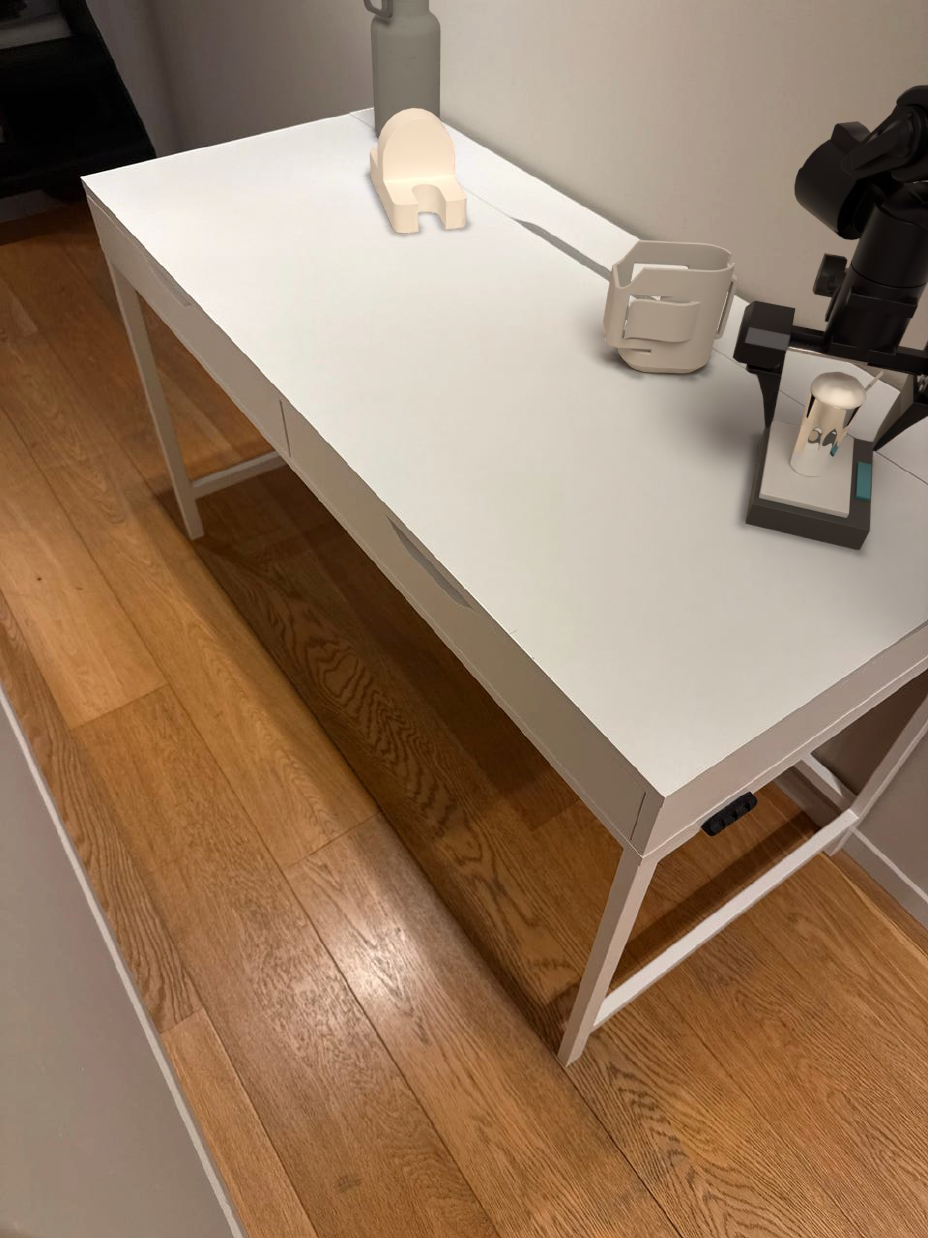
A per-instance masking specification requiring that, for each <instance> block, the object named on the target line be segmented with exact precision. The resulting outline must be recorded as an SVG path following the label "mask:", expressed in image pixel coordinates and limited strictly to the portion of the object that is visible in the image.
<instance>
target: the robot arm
mask: <svg viewBox="0 0 928 1238" xmlns="http://www.w3.org/2000/svg"><path fill="white" fill-rule="evenodd" d="M895 104H896V105H895V107H894V108H893V110H892V111H891V113H890V114H889V115H888V116H887V117H886V118H885V119H883V121H881V123H880V124H879V125H877V126H876V127H875V128H874V129H873V130H872V131H870V130H869V128H868V127H867V126H866V125H864V124H863V123H862V122H860V121H857V120H855V121H848V122H847V121H846V122H837V123H835V125H834V127H833V130H832V133H831V135H830V138H829V139H827V140H826V141H824V142H823V143H821V144H820V145H818V147H817V148H815V150H813V151H812V153H810V155H809V156H808V157H807V159H806V160H805V161H804V163H803V165H802V166H801V167H800V168H799V169H798V170H797V173H796V176H795V179H794V186H793V187H794V188H793V190H794V197H795V199H796V202H797V203H798V204H799V206H801V207H802V208H803V209H804V210H806V211H807V212H808V213H810V214H811V215H812V216H813V217H814V218H816V219H817V220H818V221H819V222H821V223H822V224H823V225H824V226H826V227H827V228H828V229H829V230H830V231H832V232H833V233H834V234H835V235H836V236H838V237H840V238H841V239H843V240H847V241H854V240H858V241H857V244H856V247H855V250H854V251H853V255H852V257H851V260H850V263H849V265H848V267H847V264H848V259H847V257H846V256H843V255H839V254H832V253H827V252H824V253H823V256H822V259H821V262H820V264H819V267H818V269H817V273H816V276H815V279H814V283H813V285H812V294H814V295H816V296H821V297H826V298H831V299H830V301H829V304H828V307H827V309H826V312H825V315H824V322H825V323H827V324H826V326H825V329H824V330H820V329H815V328H810V327H805V326H800V325H795V324H794V319H795V314H796V307H792V306H786V305H781V304H776V303H771V302H765V301H760V300H753V301H752V302H750V303H749V304H748V305H746V306H745V308H744V312H743V314H742V318H741V322H740V325H739V329H738V333H737V337H736V340H735V345H734V349H733V353H732V359H734V361H736V362H737V363H739V364H744V365H745V370H746V372H747V373H748V374H751V375H755V376H756V377H757V381H758V384H759V388H760V393H761V396H762V405H763V419H764V428H770V426H771V424H772V421H774V418H775V414H776V409H777V403H778V397H779V393H780V387H781V382H782V377H783V372H784V365H785V360H786V355H787V352H793V353H799V354H803V355H804V354H805V355H809V356H814V357H819V358H824V359H830V360H834V361H838V362H842V363H843V362H844V363H849V364H853V365H859V366H863V367H864V366H866V367H871V368H876V369H882V370H886V371H893V372H895V373H896V372H897V373H901V374H906V375H907V377H906V379H905V382H904V384H903V386H902V388H901V390H900V392H899V393H898V395H897V396H896V398H895V400H894V402H893V404H892V405H891V407H890V408H889V410H888V412H887V413H886V416H885V417H884V418H883V420H882V422H881V424H880V425H879V427H878V428H877V431H876V433H875V436H874V438H873V440H872V442H873V443H872V451H873V452H878V451H879V450H881V449H882V448H883V447H884V446H886V445H887V444H889V443H890V442H891V441H892V440H894V439H895V438H896V437H898V436H899V435H900V434H902V433H904V431H906V430H907V429H909V428H911V427H912V426H914V425H917V424H918V423H919V422H921V421H922V420H924V419H926V418H928V340H927V341H926V343H925V345H924V347H923V349H918V348H913V347H908V346H903V345H900V344H901V342H902V340H903V337H904V335H905V334H906V331H907V329H908V326H909V325H910V322H911V320H912V319H913V318H914V316H915V313H916V311H917V310H918V307H919V303H920V300H921V298H922V296H923V294H924V292H925V289H926V287H927V285H928V84H920V85H914V86H911V87H910V88H907V89H906V90H905V91H903V92H902V93H901V94H900V95H899V96H898V97H897V99H896V101H895Z"/></svg>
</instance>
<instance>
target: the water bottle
mask: <svg viewBox="0 0 928 1238" xmlns="http://www.w3.org/2000/svg"><path fill="white" fill-rule="evenodd" d="M380 2H381V3H380V4H381V8H377V7H376V6H374V5H373V4H372V2H371V0H363V5H364V8H365V9H366V11H368V12H369V13H372V14H373V15H374V16H373V18H372V20H371V23H370V44H371V46H370V47H371V68H372V88H373V89H372V90H373V93H372V94H373V114H374V115H373V116H374V118H373V119H374V130H375V133H376V135H377V137H379V136H380V133H381V130H382V129H383V127H384V126H385V124H386V123H387V121H388V120H389V119H390V118H392V117H393V116H394V115H395V114H397V113H399V112H401V111H403V110H406V109H411V108H417V109H424V110H426V111H429V112H431V113H432V114H434V115H435V116H436V117H438V118H439V120H440V121H441V35H442V34H441V32H442V31H441V23H440V21H439V19H438V17H437V16H436V15H435V14H434V13H433V12H432V11H431V10H430V0H380Z"/></svg>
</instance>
